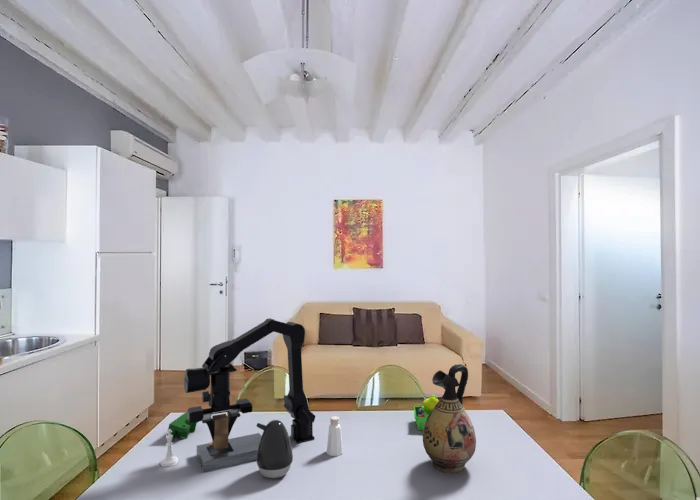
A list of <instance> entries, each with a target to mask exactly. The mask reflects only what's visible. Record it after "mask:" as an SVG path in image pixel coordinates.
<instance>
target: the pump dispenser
mask: <svg viewBox="0 0 700 500" xmlns="http://www.w3.org/2000/svg"><path fill="white" fill-rule="evenodd" d="M256 427H257V428H258V429H260V430H263V431H262V434H261V439H260V442H259V447H258V453H257V460H256V464H257V467H258V471H259V472H260V474H261V475H262V476H264V477H265V478H267V479H278V478H282V477H283V476H284V475H286V474H287V473H288V472H289V470H290V469H291V467H292V463H293V459H294V458H293V457H294V455H293V447H292V442H291V439H290V436H289V433H288V430H287V427H286V426H285V424H284V423H283V422H282V421H281V420H279V419H273V420H270V421H268V423H267V424H263V423H259V422H257V424H256Z"/></svg>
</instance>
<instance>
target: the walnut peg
mask: <svg viewBox="0 0 700 500" xmlns="http://www.w3.org/2000/svg"><path fill="white" fill-rule="evenodd" d="M226 413H227V412H224V413H219V414H213V415H211V418H212V419H213V427H214V440H212V439H211V440H212V441H211V442H212V445H213V447H214V450H218V449H222V448H227V447H228V439H229V437H228V417H227V414H226Z"/></svg>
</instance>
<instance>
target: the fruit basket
mask: <svg viewBox="0 0 700 500" xmlns="http://www.w3.org/2000/svg"><path fill="white" fill-rule="evenodd" d="M438 402H439V399H438V396H437V395H435V394H431V395H430V396H429V397H428V398H426V399H425V400H423V402H422V406H421V405H419V406H416V405H415V406H414V407H413V415H414V419H415V423H416V426H417V427H416V428H417V430H418V431H424V426H425V423H426V420H427V418H428V416H429V414H430V413H431V411H432V410H433V408H434V407H435V405H436V404H437V403H438Z"/></svg>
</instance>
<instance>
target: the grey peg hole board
mask: <svg viewBox="0 0 700 500" xmlns="http://www.w3.org/2000/svg"><path fill="white" fill-rule="evenodd" d="M261 436H262V434H261V433H260V432H257V433H252V434H247V435H243V436H238V437H234V438H233V437H232V438H228V447H227V448H222V449H218V450H214V447H213V445H212V441H211V442H208V443H202V444H198V445H196V458H197V460H198V463H199V466H200V468H201V471H202V473H207V472H210V471H214V470H215V471H216V470H218V469H219V470H220V469H224V468H229V467H233V466H236V465H240V464H245V463H248V462H249V463H250V462H253V461H257V453H258V447H259V442H260V439H261Z"/></svg>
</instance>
